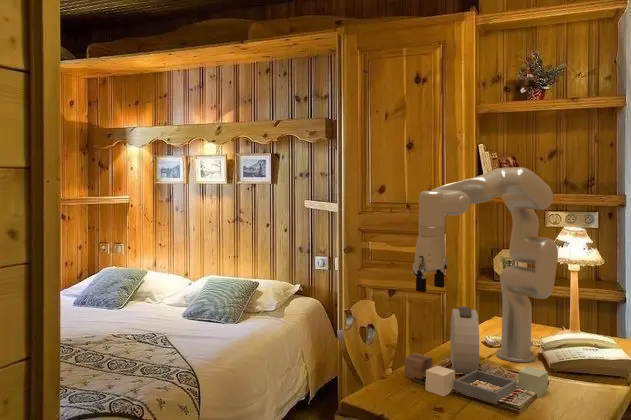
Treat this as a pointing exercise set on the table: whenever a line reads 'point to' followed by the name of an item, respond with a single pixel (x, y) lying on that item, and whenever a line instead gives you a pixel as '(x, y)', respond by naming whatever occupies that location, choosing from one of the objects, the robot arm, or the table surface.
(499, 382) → the grey tray
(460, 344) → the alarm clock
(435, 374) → the cream block
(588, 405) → the table surface
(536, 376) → the sage block
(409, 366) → the walnut block
